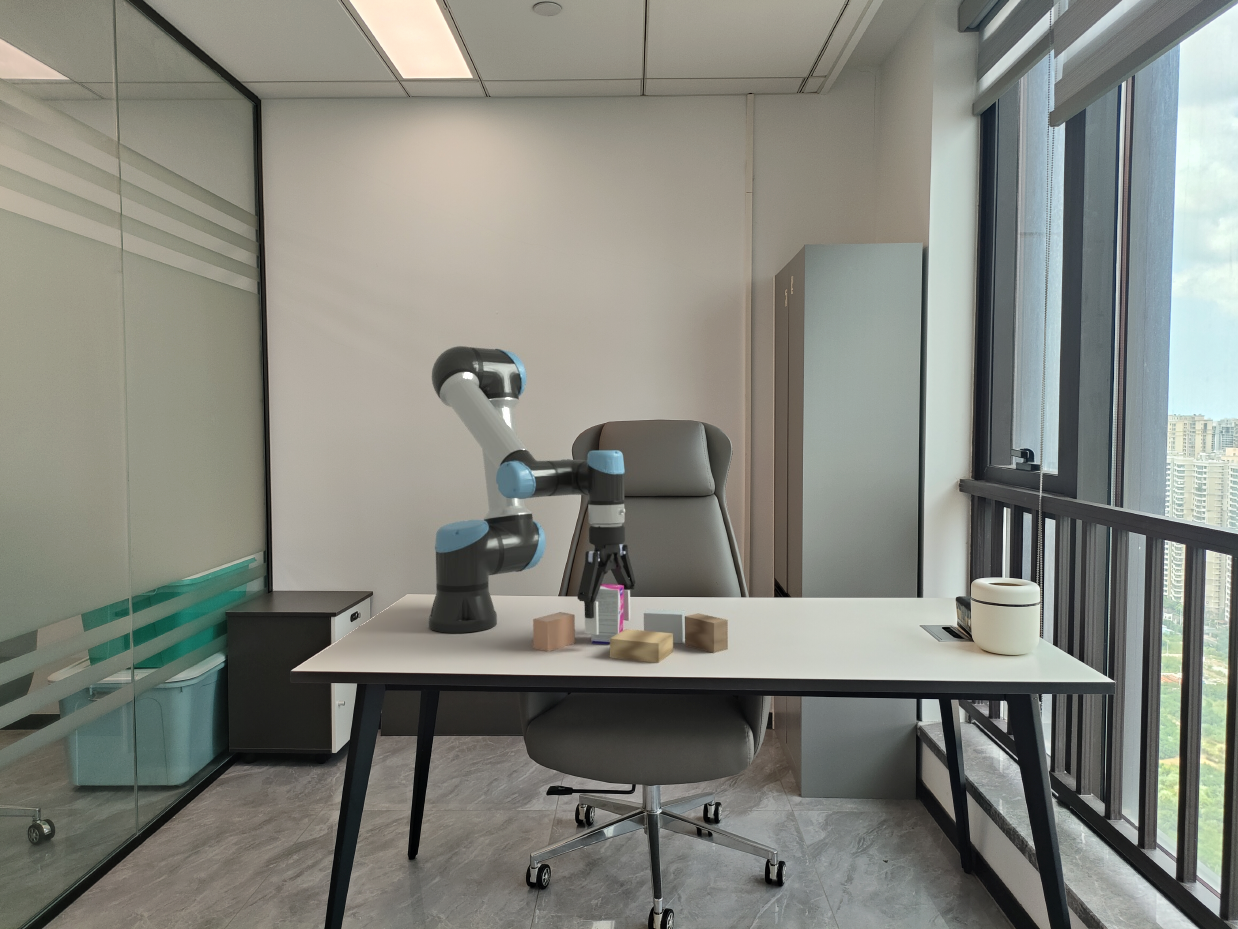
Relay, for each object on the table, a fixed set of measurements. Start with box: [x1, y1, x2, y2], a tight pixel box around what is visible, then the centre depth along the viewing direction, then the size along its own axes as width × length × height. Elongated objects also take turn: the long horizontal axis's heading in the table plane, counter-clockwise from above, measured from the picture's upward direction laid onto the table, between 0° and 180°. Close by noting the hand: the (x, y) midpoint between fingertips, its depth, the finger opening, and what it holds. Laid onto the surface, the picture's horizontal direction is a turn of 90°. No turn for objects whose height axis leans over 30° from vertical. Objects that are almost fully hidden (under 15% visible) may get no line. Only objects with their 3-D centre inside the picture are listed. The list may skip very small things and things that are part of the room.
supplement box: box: [590, 583, 624, 646], centre depth 162 cm, size 6×6×12 cm
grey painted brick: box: [643, 608, 686, 644], centre depth 163 cm, size 8×4×6 cm, turn 78°
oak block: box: [609, 628, 674, 664], centre depth 152 cm, size 10×8×4 cm
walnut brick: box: [684, 613, 729, 654], centre depth 157 cm, size 8×4×6 cm, turn 41°
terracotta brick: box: [532, 611, 576, 652], centre depth 159 cm, size 8×4×6 cm, turn 141°
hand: (608, 626), depth 162 cm, fingers open, 13 cm apart
